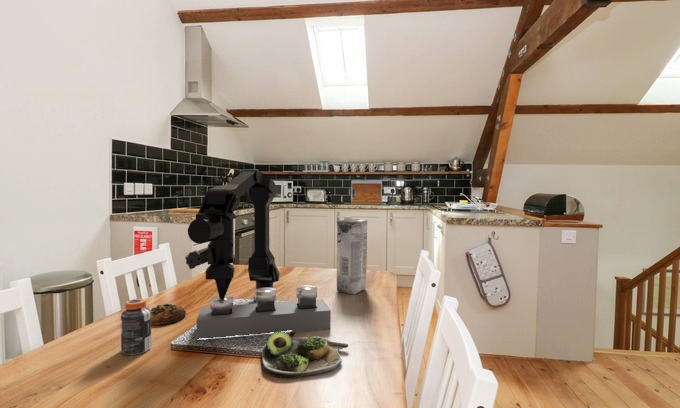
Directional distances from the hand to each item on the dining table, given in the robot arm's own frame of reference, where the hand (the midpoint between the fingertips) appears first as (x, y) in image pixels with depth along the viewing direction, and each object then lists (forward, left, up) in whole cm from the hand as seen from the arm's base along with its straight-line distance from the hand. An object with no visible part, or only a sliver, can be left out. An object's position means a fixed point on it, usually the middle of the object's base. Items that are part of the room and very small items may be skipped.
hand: (222, 298), depth 93 cm
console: (0, +11, -8) cm, 14 cm away
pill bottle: (+7, -18, -9) cm, 21 cm away
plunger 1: (0, 0, -7) cm, 7 cm away
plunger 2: (0, +22, -5) cm, 23 cm away
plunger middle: (0, +11, -6) cm, 12 cm away
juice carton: (-28, +43, -9) cm, 52 cm away
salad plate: (+19, +17, -9) cm, 27 cm away
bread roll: (-13, -16, -9) cm, 23 cm away
